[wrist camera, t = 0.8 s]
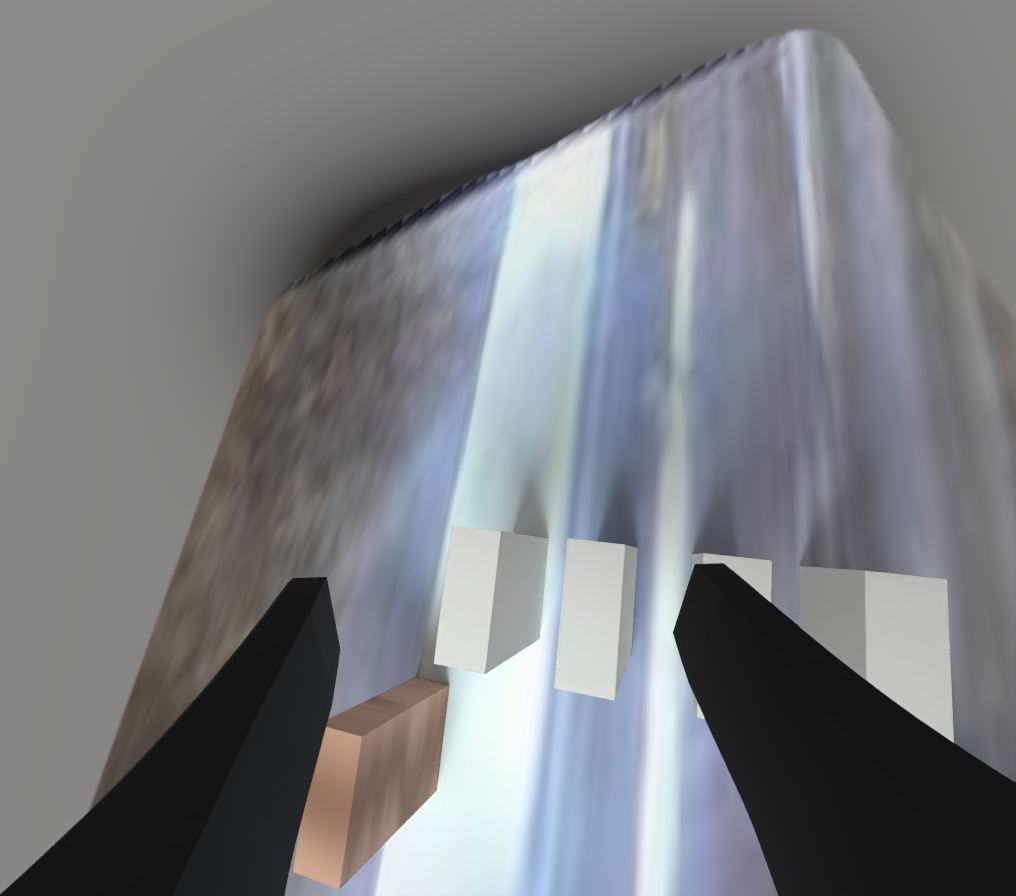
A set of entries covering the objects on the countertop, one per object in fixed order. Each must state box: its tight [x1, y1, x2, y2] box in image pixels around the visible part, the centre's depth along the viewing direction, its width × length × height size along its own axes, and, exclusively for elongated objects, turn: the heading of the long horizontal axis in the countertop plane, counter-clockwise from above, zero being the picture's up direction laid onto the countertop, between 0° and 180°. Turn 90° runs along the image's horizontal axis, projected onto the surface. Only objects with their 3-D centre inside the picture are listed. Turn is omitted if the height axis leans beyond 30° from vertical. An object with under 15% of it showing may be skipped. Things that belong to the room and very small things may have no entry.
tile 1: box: [799, 566, 954, 743], centre depth 18 cm, size 5×2×8 cm, turn 174°
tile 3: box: [554, 538, 638, 700], centre depth 21 cm, size 5×2×8 cm, turn 174°
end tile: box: [293, 677, 449, 889], centre depth 22 cm, size 5×2×8 cm, turn 174°
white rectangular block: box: [434, 526, 549, 674], centre depth 22 cm, size 5×2×8 cm, turn 173°
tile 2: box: [691, 553, 772, 719], centre depth 19 cm, size 5×2×8 cm, turn 173°
